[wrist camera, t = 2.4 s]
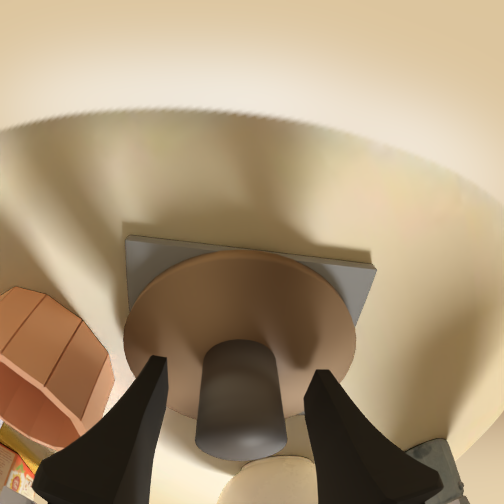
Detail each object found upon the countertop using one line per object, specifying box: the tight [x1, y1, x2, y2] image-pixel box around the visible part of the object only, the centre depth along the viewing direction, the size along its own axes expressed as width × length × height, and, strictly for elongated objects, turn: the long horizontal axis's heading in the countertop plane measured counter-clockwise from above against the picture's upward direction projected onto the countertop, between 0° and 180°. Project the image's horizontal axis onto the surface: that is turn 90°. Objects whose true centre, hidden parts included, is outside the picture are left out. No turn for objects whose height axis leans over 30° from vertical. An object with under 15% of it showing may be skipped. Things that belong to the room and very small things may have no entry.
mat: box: [125, 235, 377, 415], centre depth 13 cm, size 10×10×1 cm
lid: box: [123, 250, 356, 461], centre depth 11 cm, size 10×10×5 cm
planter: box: [0, 287, 115, 451], centre depth 12 cm, size 9×9×4 cm
